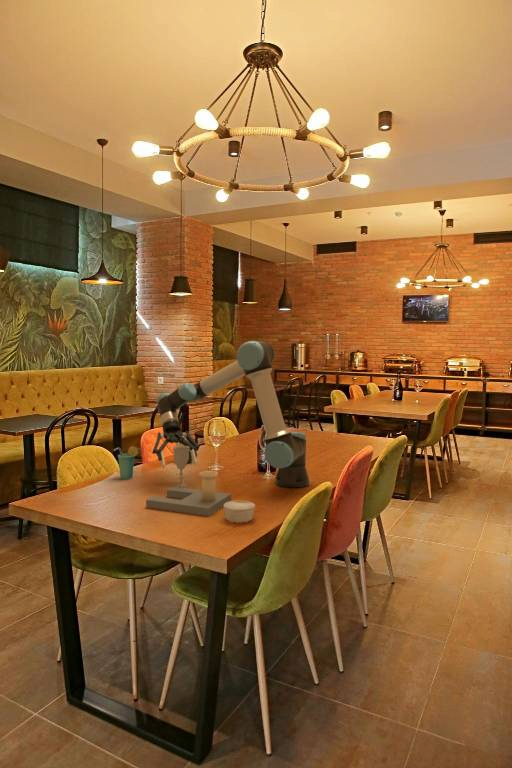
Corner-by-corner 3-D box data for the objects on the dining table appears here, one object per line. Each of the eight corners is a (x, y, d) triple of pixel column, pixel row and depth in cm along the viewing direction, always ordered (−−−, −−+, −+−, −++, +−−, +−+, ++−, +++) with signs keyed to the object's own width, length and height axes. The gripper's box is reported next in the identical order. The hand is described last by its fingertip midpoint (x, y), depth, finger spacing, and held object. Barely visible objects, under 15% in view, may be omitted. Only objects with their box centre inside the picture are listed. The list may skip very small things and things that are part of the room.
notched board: (231, 501, 216) (231, 468, 214) (208, 516, 197) (208, 480, 196) (172, 493, 225) (172, 462, 224) (146, 507, 206) (146, 473, 205)
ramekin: (254, 514, 201) (254, 500, 200) (255, 524, 190) (255, 509, 189) (223, 514, 200) (223, 499, 200) (222, 524, 189) (223, 509, 189)
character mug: (198, 462, 283) (198, 437, 282) (192, 465, 276) (192, 439, 275) (179, 460, 286) (179, 435, 285) (173, 463, 280) (173, 437, 278)
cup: (120, 483, 240) (119, 449, 239) (107, 480, 244) (107, 447, 243) (142, 476, 252) (142, 444, 251) (129, 474, 256) (129, 442, 255)
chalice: (175, 492, 227) (175, 449, 225) (170, 488, 233) (170, 446, 231) (192, 490, 230) (192, 448, 229) (186, 486, 236) (186, 445, 235)
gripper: (195, 427, 251) (206, 467, 238) (141, 430, 241) (148, 472, 228) (199, 417, 246) (210, 457, 233) (143, 420, 236) (151, 462, 223)
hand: (179, 465), depth 231 cm, fingers open, 13 cm apart
